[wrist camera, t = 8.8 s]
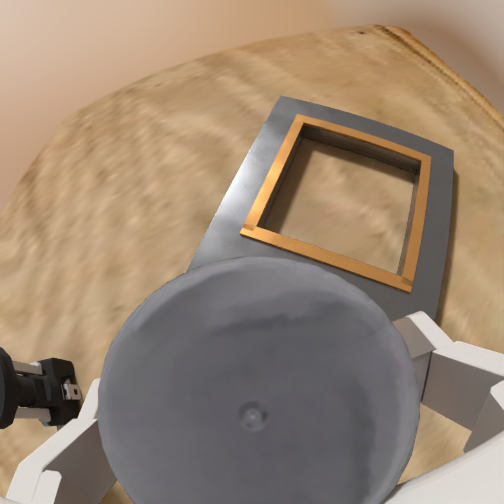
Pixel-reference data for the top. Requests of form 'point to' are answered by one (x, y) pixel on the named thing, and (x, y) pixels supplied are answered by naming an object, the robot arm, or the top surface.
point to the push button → (37, 391)
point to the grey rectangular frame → (360, 274)
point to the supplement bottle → (258, 390)
